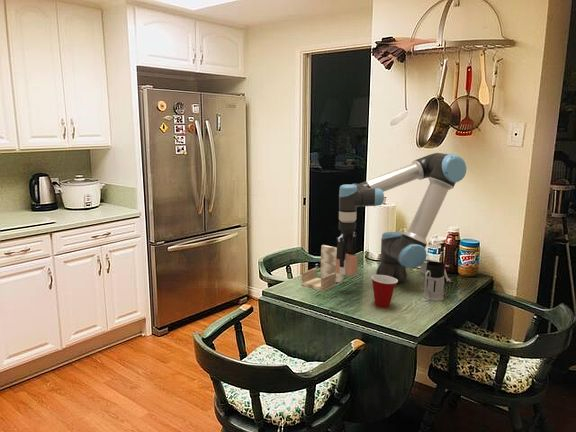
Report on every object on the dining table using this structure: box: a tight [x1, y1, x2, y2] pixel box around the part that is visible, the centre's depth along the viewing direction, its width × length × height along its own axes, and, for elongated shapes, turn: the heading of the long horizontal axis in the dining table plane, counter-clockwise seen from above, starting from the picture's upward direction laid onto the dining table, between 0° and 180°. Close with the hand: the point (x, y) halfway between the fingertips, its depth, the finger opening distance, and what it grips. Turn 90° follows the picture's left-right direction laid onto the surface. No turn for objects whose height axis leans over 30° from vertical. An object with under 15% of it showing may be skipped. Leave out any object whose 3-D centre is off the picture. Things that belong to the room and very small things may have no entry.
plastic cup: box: [370, 274, 398, 309], centre depth 191 cm, size 11×11×12 cm
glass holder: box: [422, 260, 446, 301], centre depth 200 cm, size 9×14×15 cm, turn 140°
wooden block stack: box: [301, 244, 345, 292], centre depth 216 cm, size 12×17×16 cm
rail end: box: [335, 253, 358, 277], centre depth 204 cm, size 8×5×8 cm, turn 51°
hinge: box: [419, 258, 452, 284], centre depth 228 cm, size 17×5×10 cm, turn 21°
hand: (346, 272), depth 205 cm, fingers closed on rail end, 5 cm apart
